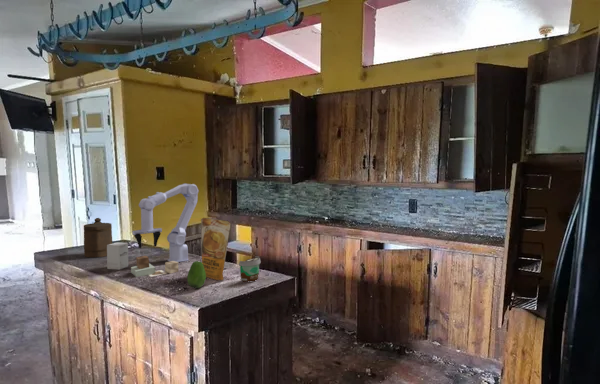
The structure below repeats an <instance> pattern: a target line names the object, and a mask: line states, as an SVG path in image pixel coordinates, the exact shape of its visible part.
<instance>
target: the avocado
mask: <svg viewBox="0 0 600 384" xmlns="http://www.w3.org/2000/svg"><path fill="white" fill-rule="evenodd" d="M206 278H207V277H206V273H205V269H204V266H203V263H202V261H200V260H195V261H193V262H192V263H191V265H190V268H189V271H188V273H187V278H186V279H187V284H188V286H189V287H191V288H192V289H199V288H202V287H203V286H204V284H205V282H206Z"/></svg>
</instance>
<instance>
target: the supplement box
mask: <svg viewBox="0 0 600 384" xmlns="http://www.w3.org/2000/svg"><path fill="white" fill-rule="evenodd" d="M106 261H107V263H106V265H107V269H108V270H118V271H120V270H122V269H124V268H128V267H129V243H128V242H114V243H113V242H112V244H109V245H107V256H106Z"/></svg>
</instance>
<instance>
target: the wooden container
mask: <svg viewBox="0 0 600 384" xmlns="http://www.w3.org/2000/svg"><path fill="white" fill-rule="evenodd" d="M101 221H102V218H100V217H96V218H94V222H93V223H87V224H84V225H83V250H84V251H83V252H84V258H90V259H91V258H93V259H94V258H95V259H96V258H104V257H107V245H109V244H113V231H112V230H113V229H112V226H113V225H112V223H110V222H101Z"/></svg>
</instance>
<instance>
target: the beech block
mask: <svg viewBox="0 0 600 384" xmlns="http://www.w3.org/2000/svg"><path fill="white" fill-rule="evenodd" d="M164 268H165V269H164V272H166V273H167V274H170V275H171V274H174V273H178V272H179V262H175V261H170V262H169V261H166V262H164Z"/></svg>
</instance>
